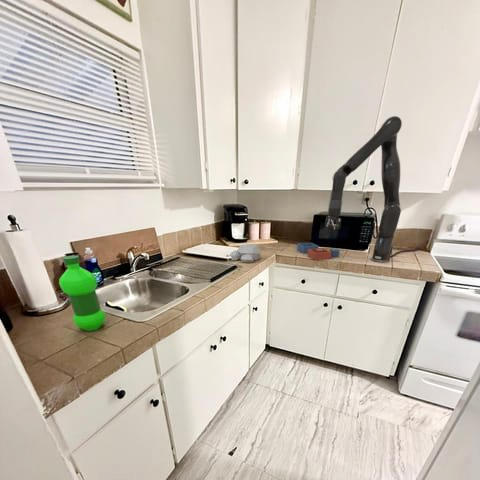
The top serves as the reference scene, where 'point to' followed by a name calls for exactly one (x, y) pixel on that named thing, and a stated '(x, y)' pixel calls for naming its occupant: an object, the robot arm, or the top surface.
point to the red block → (319, 250)
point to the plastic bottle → (82, 294)
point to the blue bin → (306, 247)
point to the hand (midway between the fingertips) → (331, 234)
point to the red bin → (319, 254)
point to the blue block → (334, 252)
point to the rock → (246, 253)
